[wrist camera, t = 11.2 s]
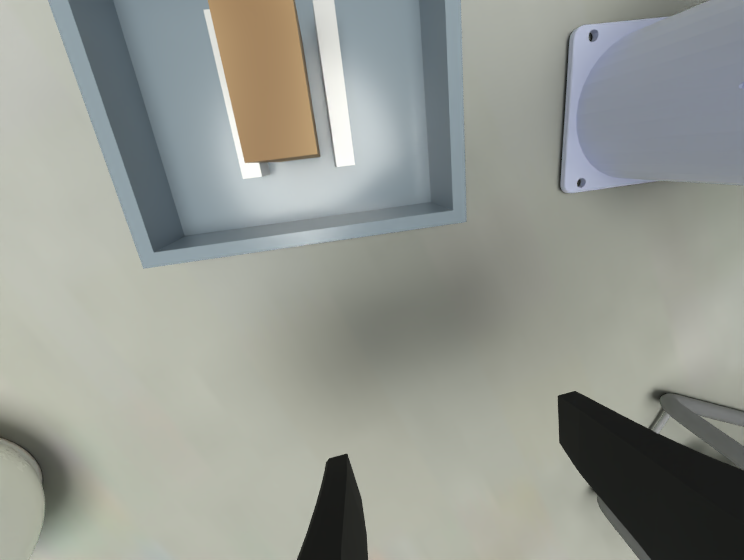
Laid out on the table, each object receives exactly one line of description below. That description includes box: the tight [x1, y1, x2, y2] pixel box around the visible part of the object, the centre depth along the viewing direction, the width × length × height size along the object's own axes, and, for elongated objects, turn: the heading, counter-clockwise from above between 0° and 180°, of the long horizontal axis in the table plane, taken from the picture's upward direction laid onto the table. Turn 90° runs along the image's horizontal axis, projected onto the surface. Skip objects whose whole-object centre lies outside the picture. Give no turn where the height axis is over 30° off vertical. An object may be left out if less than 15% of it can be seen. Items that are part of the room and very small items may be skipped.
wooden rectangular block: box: [208, 0, 320, 163], centre depth 13 cm, size 2×5×8 cm, turn 7°
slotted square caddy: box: [48, 0, 467, 269], centre depth 15 cm, size 14×12×4 cm
